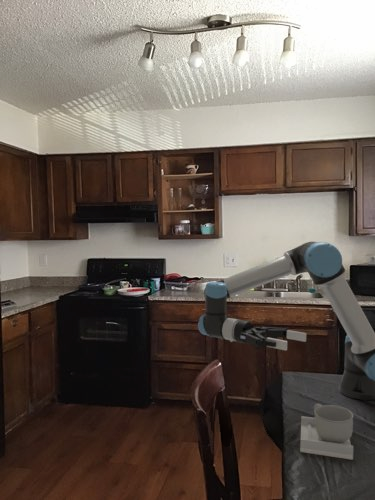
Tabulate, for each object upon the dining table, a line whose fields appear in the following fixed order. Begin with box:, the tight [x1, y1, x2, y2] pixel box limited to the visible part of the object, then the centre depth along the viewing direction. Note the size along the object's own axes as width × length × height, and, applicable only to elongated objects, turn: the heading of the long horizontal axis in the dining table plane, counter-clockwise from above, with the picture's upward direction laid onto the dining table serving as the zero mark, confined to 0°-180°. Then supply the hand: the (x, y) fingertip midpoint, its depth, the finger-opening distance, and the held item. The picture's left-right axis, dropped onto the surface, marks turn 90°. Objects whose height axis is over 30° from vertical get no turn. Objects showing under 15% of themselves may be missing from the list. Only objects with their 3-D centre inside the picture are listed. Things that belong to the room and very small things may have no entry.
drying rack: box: [299, 415, 354, 460], centre depth 127 cm, size 16×14×4 cm
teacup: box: [313, 403, 354, 443], centre depth 126 cm, size 14×11×8 cm
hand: (296, 341), depth 132 cm, fingers open, 13 cm apart
